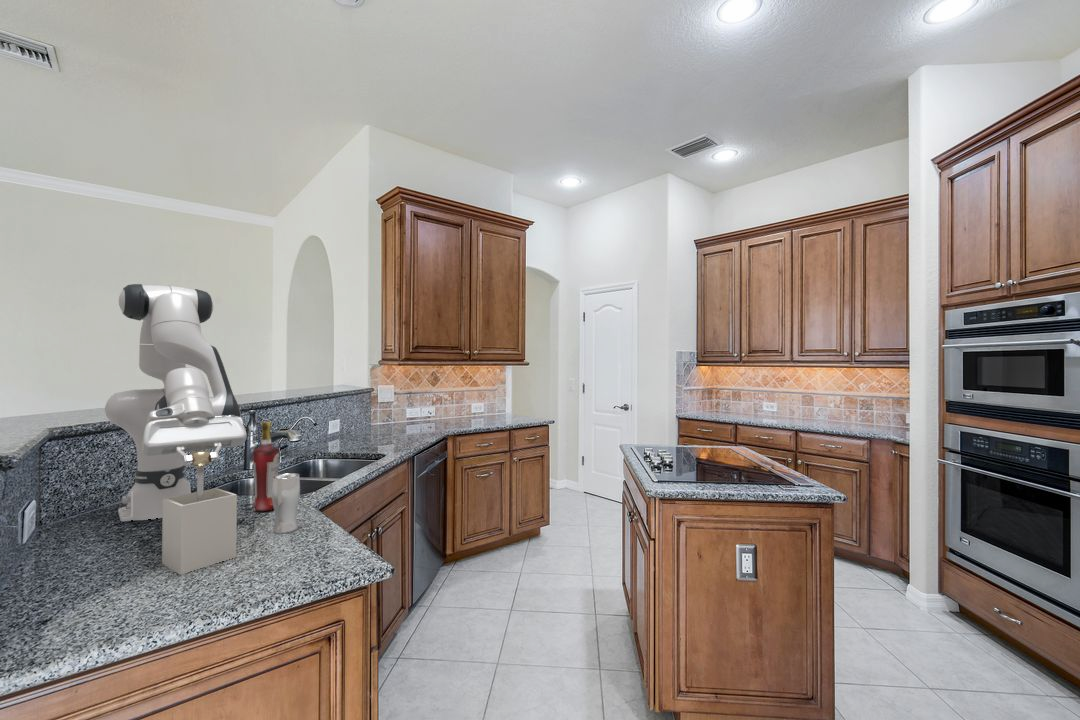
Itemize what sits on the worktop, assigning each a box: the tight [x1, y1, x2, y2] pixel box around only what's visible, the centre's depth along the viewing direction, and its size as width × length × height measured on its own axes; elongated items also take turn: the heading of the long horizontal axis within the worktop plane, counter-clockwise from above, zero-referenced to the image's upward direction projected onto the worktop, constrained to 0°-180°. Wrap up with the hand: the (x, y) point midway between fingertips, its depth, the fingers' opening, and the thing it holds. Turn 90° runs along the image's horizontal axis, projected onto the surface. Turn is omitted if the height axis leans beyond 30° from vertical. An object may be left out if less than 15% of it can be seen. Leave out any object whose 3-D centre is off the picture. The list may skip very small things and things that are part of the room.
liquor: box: [252, 421, 280, 512], centre depth 147 cm, size 7×7×28 cm
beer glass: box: [272, 472, 301, 534], centre depth 128 cm, size 7×7×15 cm
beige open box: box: [161, 487, 238, 576], centre depth 108 cm, size 11×11×15 cm
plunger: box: [190, 449, 211, 502], centre depth 108 cm, size 9×9×19 cm
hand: (201, 462), depth 107 cm, fingers closed on plunger, 4 cm apart
